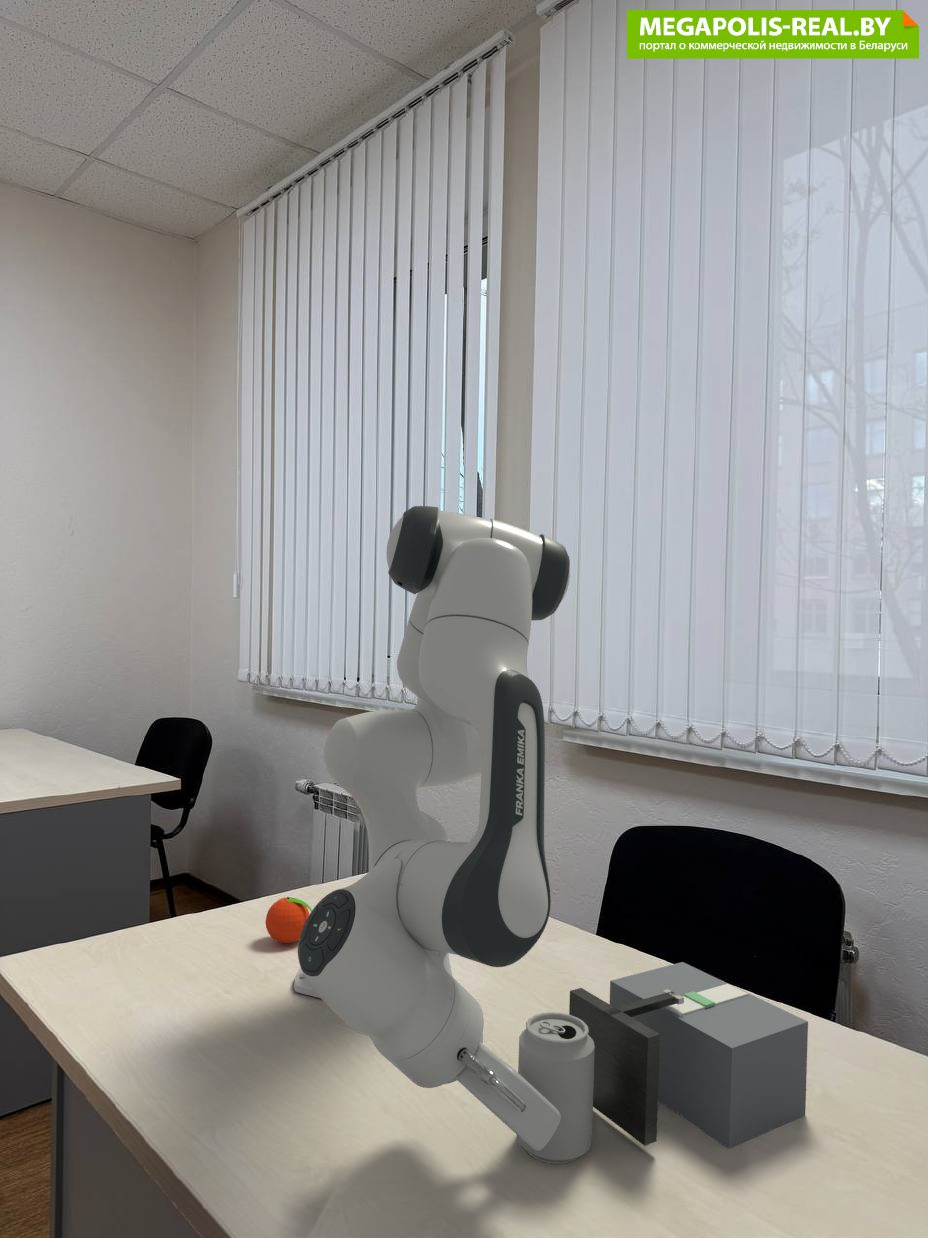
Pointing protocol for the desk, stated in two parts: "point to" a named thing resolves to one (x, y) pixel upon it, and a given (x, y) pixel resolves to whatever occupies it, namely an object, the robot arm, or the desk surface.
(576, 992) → the gauge plunger
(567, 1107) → the can
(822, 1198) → the desk surface
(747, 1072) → the gauge housing
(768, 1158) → the desk surface
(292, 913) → the clementine
